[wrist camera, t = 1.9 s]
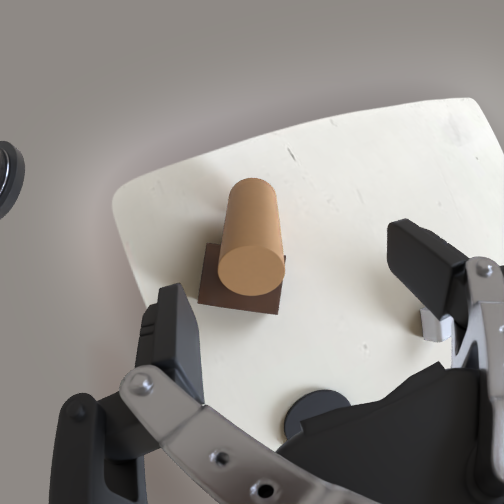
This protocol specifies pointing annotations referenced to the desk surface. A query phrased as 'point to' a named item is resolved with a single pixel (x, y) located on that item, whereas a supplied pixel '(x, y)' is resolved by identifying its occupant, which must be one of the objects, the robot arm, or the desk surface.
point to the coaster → (312, 409)
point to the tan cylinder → (251, 240)
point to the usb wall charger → (435, 326)
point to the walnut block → (221, 296)
